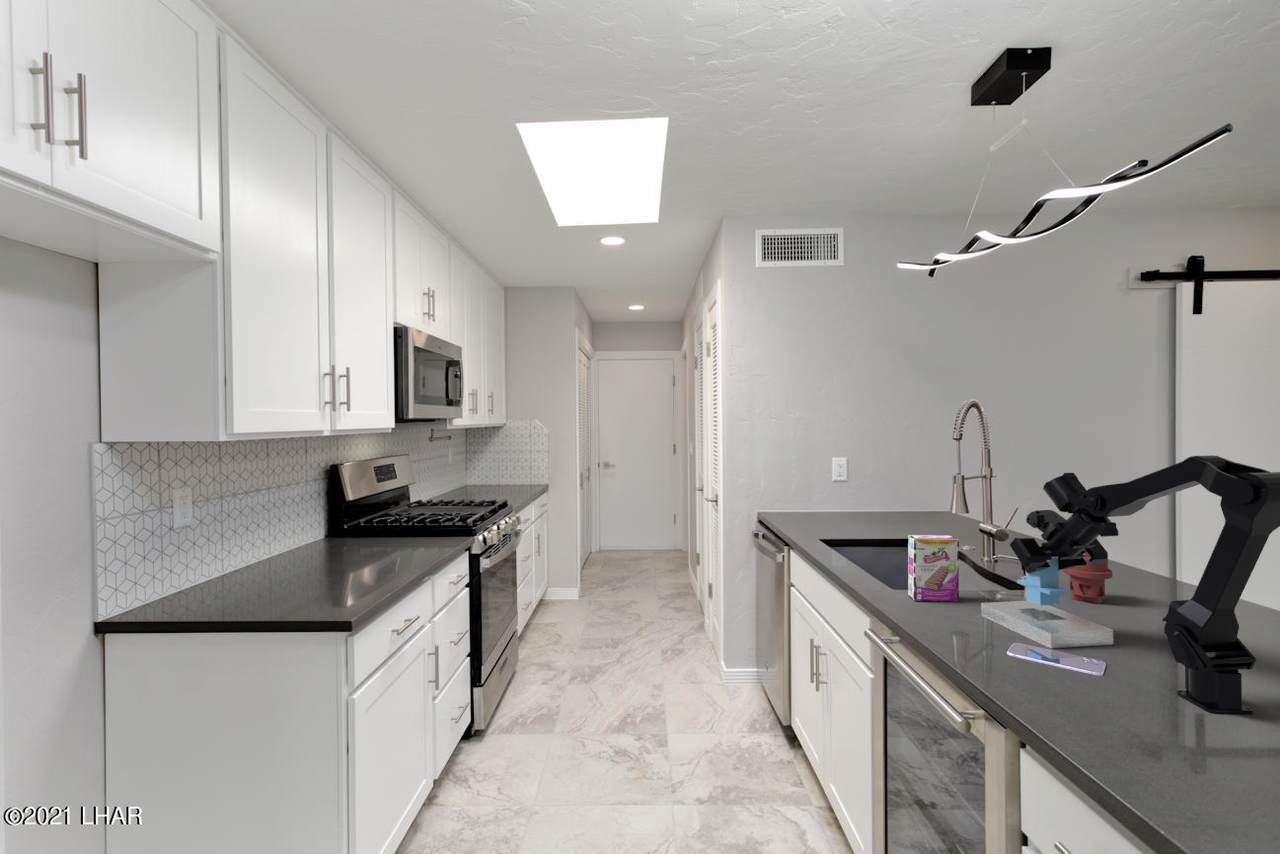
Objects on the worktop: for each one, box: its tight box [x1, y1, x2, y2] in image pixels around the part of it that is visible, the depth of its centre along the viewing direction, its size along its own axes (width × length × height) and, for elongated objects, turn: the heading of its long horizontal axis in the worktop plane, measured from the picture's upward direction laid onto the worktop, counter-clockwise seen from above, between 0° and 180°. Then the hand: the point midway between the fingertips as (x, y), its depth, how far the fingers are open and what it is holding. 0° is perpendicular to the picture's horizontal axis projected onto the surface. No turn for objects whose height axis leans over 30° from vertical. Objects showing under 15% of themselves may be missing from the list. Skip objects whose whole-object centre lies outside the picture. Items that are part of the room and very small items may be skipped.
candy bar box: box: [907, 534, 960, 603], centre depth 148 cm, size 11×5×16 cm, turn 84°
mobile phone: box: [1006, 642, 1107, 677], centre depth 111 cm, size 8×1×15 cm
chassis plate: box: [980, 600, 1114, 650], centre depth 126 cm, size 20×14×3 cm
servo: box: [1016, 557, 1070, 606], centre depth 126 cm, size 9×4×12 cm, turn 6°
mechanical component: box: [1062, 552, 1113, 605], centre depth 146 cm, size 12×10×10 cm
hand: (1036, 571), depth 128 cm, fingers closed on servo, 4 cm apart
